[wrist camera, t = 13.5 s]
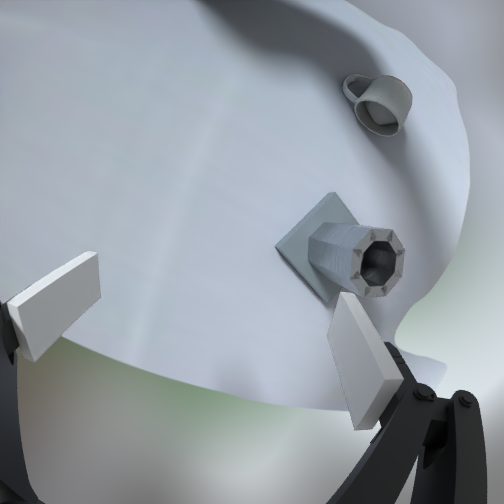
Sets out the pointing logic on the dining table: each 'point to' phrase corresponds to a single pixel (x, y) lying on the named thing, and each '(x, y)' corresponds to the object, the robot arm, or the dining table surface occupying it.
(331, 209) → the peg block
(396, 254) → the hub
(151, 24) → the dining table surface
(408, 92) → the ceramic mug
